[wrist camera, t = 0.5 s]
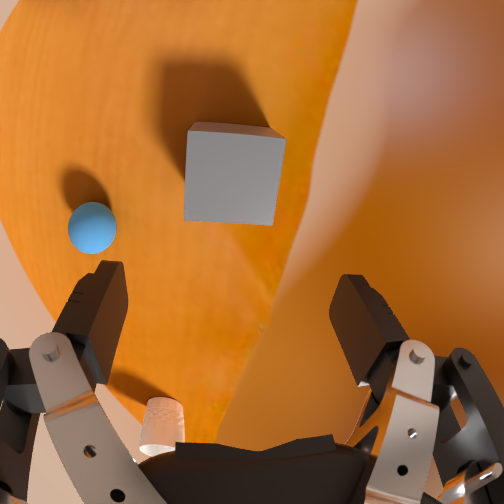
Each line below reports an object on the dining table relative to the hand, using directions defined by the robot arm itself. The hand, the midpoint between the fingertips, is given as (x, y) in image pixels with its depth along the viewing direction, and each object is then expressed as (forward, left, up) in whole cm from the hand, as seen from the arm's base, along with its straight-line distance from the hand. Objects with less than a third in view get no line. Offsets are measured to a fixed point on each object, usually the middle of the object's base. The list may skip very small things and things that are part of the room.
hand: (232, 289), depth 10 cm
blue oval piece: (+11, -8, -16) cm, 21 cm away
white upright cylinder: (+41, +14, -19) cm, 48 cm away
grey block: (-1, 0, -18) cm, 18 cm away
